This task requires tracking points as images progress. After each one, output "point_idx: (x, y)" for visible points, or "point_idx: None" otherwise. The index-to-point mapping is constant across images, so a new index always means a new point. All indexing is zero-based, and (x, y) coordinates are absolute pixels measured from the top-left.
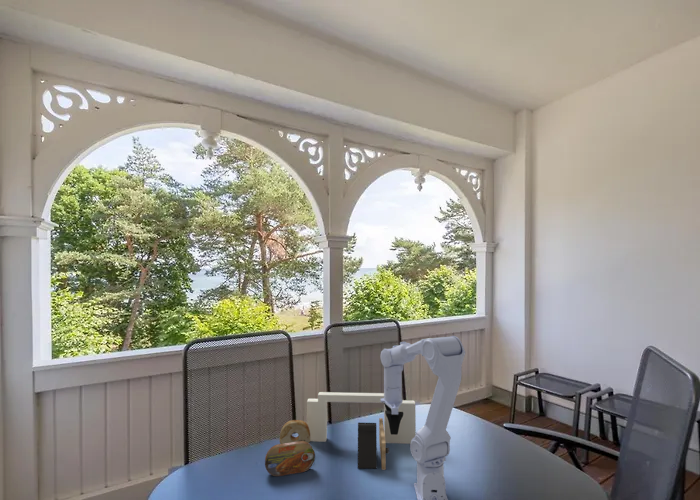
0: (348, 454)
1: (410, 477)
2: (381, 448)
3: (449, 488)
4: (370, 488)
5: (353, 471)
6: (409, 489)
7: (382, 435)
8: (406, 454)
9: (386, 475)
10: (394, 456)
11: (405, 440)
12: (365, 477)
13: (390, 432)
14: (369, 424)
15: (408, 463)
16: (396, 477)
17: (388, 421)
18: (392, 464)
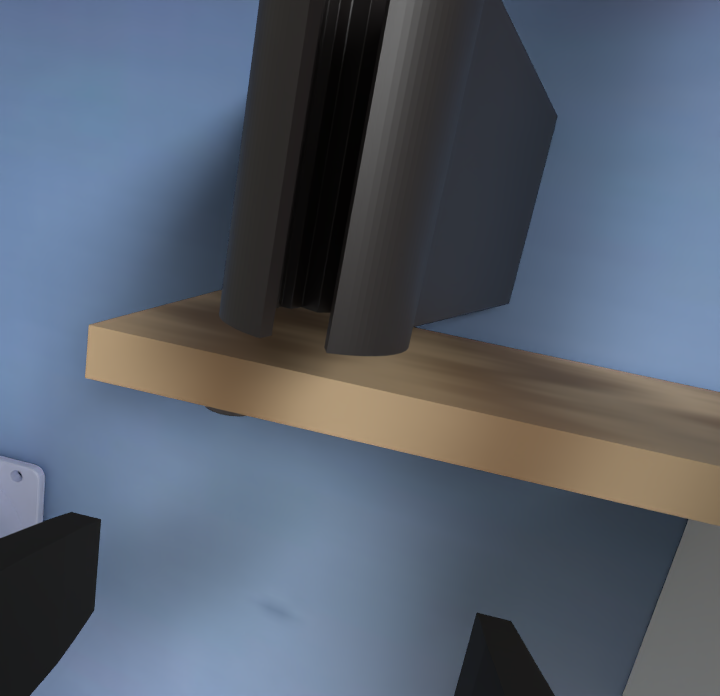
0: (570, 5)
1: (134, 473)
2: (196, 320)
3: None
4: (10, 140)
5: (246, 24)
6: (3, 418)
7: (313, 398)
8: (455, 562)
9: None
10: None
11: (660, 645)
12: (150, 125)
13: (51, 520)
14: (270, 162)
15: (315, 527)
16: None
17: (485, 636)
18: None
